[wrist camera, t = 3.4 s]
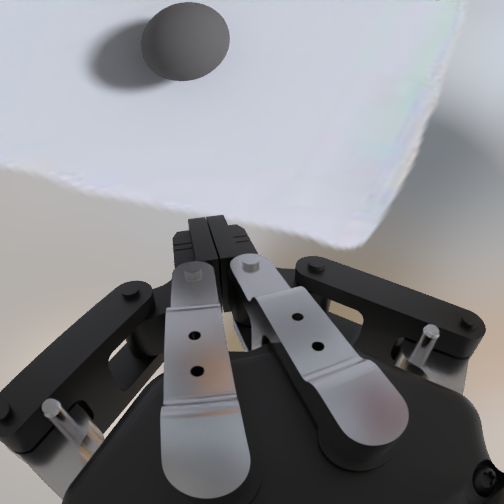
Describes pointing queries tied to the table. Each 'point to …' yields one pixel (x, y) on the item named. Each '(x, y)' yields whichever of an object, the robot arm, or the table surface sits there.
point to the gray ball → (185, 41)
